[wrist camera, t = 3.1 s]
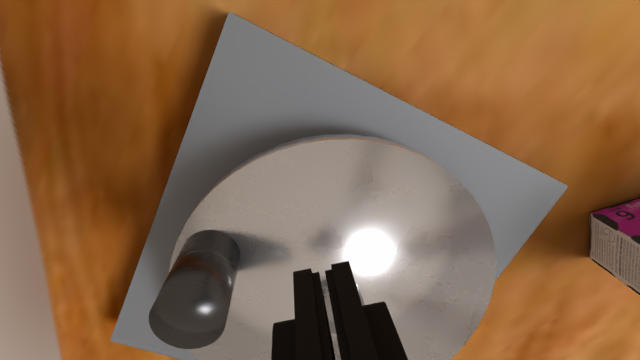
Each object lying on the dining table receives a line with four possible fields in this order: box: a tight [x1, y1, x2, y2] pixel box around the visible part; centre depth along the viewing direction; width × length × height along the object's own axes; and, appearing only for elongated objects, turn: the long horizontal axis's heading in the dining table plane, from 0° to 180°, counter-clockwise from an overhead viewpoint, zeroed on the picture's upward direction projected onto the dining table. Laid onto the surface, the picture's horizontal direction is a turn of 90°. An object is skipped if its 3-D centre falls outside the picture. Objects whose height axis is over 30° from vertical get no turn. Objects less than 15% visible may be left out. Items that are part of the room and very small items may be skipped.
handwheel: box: [149, 134, 496, 360], centre depth 20 cm, size 20×20×7 cm
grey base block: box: [110, 12, 569, 360], centre depth 25 cm, size 24×24×4 cm
